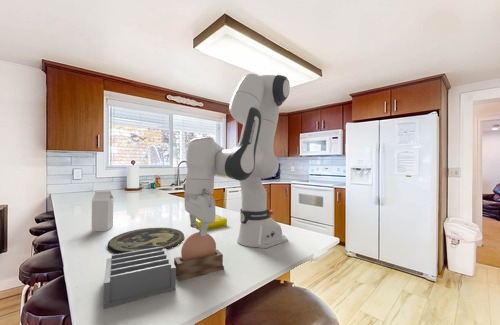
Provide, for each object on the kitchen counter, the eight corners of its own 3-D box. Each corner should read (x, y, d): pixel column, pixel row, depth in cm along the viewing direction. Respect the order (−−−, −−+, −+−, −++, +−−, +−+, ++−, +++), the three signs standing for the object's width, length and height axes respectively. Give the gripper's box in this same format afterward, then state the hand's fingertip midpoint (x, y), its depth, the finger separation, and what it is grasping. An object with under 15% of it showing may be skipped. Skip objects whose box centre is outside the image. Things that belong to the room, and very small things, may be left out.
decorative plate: (88, 247, 85) (141, 224, 115) (88, 252, 85) (140, 228, 115) (158, 255, 80) (195, 229, 109) (158, 260, 80) (195, 233, 109)
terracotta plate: (214, 262, 75) (214, 229, 75) (215, 264, 74) (216, 230, 74) (180, 270, 70) (181, 234, 70) (181, 272, 68) (182, 236, 68)
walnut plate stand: (215, 261, 78) (216, 248, 78) (223, 269, 72) (224, 255, 72) (173, 270, 71) (173, 256, 71) (178, 281, 65) (178, 265, 65)
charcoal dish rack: (165, 266, 74) (165, 245, 74) (175, 289, 61) (176, 263, 61) (106, 279, 65) (106, 255, 65) (103, 308, 53) (104, 279, 53)
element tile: (213, 220, 133) (213, 212, 133) (228, 226, 121) (228, 217, 121) (190, 225, 123) (190, 216, 123) (203, 232, 111) (203, 222, 111)
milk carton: (108, 230, 110) (108, 192, 110) (91, 231, 108) (91, 192, 108) (113, 226, 117) (113, 190, 116) (97, 227, 115) (97, 190, 115)
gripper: (222, 191, 64) (220, 239, 64) (199, 184, 82) (197, 222, 82) (200, 191, 61) (198, 243, 61) (181, 184, 78) (180, 224, 78)
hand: (197, 231), depth 71 cm, fingers open, 8 cm apart
